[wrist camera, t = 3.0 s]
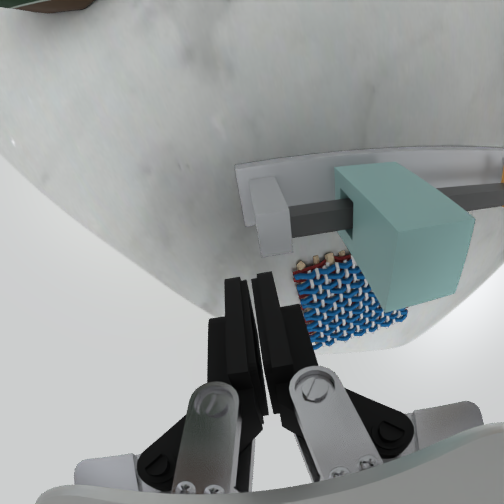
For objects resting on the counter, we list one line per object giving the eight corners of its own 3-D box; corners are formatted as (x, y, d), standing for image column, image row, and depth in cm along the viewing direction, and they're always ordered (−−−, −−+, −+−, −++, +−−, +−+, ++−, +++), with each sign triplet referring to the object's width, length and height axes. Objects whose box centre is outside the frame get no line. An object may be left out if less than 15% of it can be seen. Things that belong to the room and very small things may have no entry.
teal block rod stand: (521, 149, 18) (579, 183, 11) (516, 186, 20) (569, 225, 13) (234, 164, 18) (238, 222, 12) (244, 219, 21) (253, 297, 14)
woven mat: (403, 308, 28) (411, 322, 26) (308, 339, 29) (312, 355, 27) (408, 223, 22) (420, 235, 21) (287, 258, 23) (292, 274, 22)
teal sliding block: (395, 161, 16) (475, 218, 9) (392, 220, 18) (454, 293, 12) (334, 166, 16) (398, 231, 9) (335, 229, 18) (384, 312, 12)
